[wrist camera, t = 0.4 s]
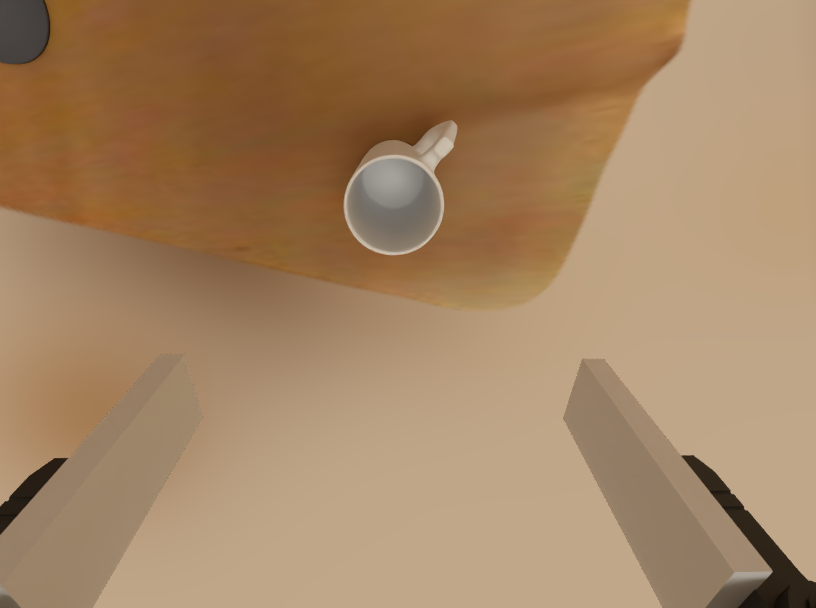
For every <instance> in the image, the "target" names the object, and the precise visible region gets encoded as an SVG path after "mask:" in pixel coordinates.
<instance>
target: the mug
mask: <svg viewBox="0 0 816 608" xmlns="http://www.w3.org/2000/svg"><path fill="white" fill-rule="evenodd" d="M456 134H457V125H456V124H455V122H453V121H451V120H449V121H445V122H443V123H440V124H438V125H436V126H435V127H433V128H431V129H429V130H428V131H427V132H426V133H425V135H424V136H423V137H422V138H421V139H420V140H419V141H418V143H417V144H415V145H414V146H411V145H409V144H407V143H405V142H402V141H398V140H388V141H383V142H381V143H378V144H377V145H375V146H374V147H372V148H371V149H370V150H369V151H368V152H367V154H366V155H365V156H364V158H363V159H362V161H361V163H360V164H359V166H358V167H357V169H356V170H355V172H354V174H353V175H352V177H351V179H350V181H349V183H348V186H347V188H346V192H345V196H344V214H345V218H346V222H347V224H348V227H349V229H350V230H351V232H352V234H353V235H354V236H355V238H356V239H357V240H358V241H359V242H360V243H361V244H363V245H364V246H365V247H367V248H369V249H370V250H373V251H375V252H378V253H381V254H386V255H401V254H406V253H410V252H412V251H415V250H417V249H419V248H420V247H422V246H423V245H425V244H426V243H427V242H428V241H429V240H430V239H431V238H432V237H433V236H434V234H435V233H436V231H437V230H438V228H439V226H440V223H441V221H442V217H443V212H444V197H443V192H442V189H441V186H440V184H439V182H438V180H437V178H436V176H435V175H434V171H435V168H436V166H437V164H438V163H439V162H440V160H441V159H442V158H444V157H445V156H446V155H447V154H448V153H449V152H450V151H451V150H452V149H453V147H454V140H455V137H456Z"/></svg>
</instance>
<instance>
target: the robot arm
mask: <svg viewBox="0 0 816 608" xmlns="http://www.w3.org/2000/svg"><path fill="white" fill-rule="evenodd" d="M202 419H203V415H202V412H201V408H200V405H199V401H198V398H197V394H196V391H195V387H194V384H193V381H192V377H191V374H190V370H189V367H188V364H187V360H186V357H185V355H184V354H160V355H159V356H158V357H157V358H156V360H155V361H154V362H153V363H152V364H151V365H150V366H149V368H148V369H147V370H146V371H145V372H144V373H143V374H142V375H141V377H140V378H139V379H138V380H137V381H136V382H135V383H134V384H133V386H132V387H131V388H130V389H129V390H128V391H127V392H126V394H125V395H124V396H123V397H122V398H121V399H120V400H119V402H118V403H117V404H116V405H115V406H114V407H113V408H112V409H111V410H110V412H109V413H108V414H107V415H106V416H105V418H103V420H102V421H101V422H100V423H99V424H98V425H97V426H96V427H95V429H94V430H93V431H92V432H91V433H90V434H89V435H88V436H87V438H86V439H85V440H84V441H83V442H82V443H81V444H80V446H79V447H78V448H77V449H76V450H75V451H74V452H73V453H72V455H71V456H70V457H69V458H54V459H53V460H51V461H50V462H48V463H47V464H46V465H44V466H43V467H42V468H40V469H39V470H37V471H36V472H34V473H33V474H31V475H30V476H29V477H28V478H27V479H26V480H25V481H24V482H23V483H22V484H21V485H20V486H19V487H18V488H17V490H16V491H15V492H14V493H13V494H12V495H11V496H10V497H9V500H8V501H5V502H4V503H3V504H2V505H1V506H0V608H93V606H94V605H95V603H96V601H97V600H98V598H99V596H100V594H101V593H102V591H103V589H104V587H105V585H106V584H107V582H108V580H109V579H110V577H111V575H112V574H113V572H114V570H115V569H116V567H117V565H118V563H119V562H120V560H121V558H122V556H123V555H124V553H125V551H126V549H127V548H128V546H129V544H130V543H131V541H132V539H133V537H134V536H135V534H136V532H137V531H138V529H139V527H140V525H141V524H142V522H143V520H144V519H145V517H146V515H147V513H148V512H149V510H150V508H151V506H152V505H153V503H154V501H155V499H156V498H157V496H158V494H159V492H160V491H161V489H162V487H163V486H164V484H165V482H166V481H167V479H168V477H169V475H170V474H171V472H172V470H173V468H174V467H175V465H176V463H177V462H178V460H179V458H180V456H181V455H182V453H183V451H184V450H185V448H186V446H187V444H188V443H189V441H190V439H191V437H192V435H193V434H194V432H195V431H196V429H197V427H198V425H199V424H200V422H201V420H202ZM563 419H564V421H565V423H566V425H567V426H568V429H569V430H570V432H571V434H572V436H573V438H574V440H575V442H576V444H577V445H578V447H579V449H580V451H581V453H582V455H583V457H584V459H585V461H586V463H587V465H588V467H589V468H590V470H591V472H592V474H593V476H594V478H595V480H596V482H597V484H598V486H599V487H600V489H601V491H602V493H603V495H604V497H605V499H606V501H607V503H608V505H609V507H610V508H611V510H612V512H613V514H614V516H615V518H616V520H617V522H618V524H619V526H620V527H621V529H622V531H623V533H624V535H625V537H626V539H627V541H628V543H629V545H630V546H631V548H632V550H633V552H634V554H635V556H636V558H637V560H638V562H639V564H640V566H641V567H642V569H643V571H644V573H645V575H646V577H647V579H648V580H649V583H650V584H651V586H652V588H653V590H654V592H655V594H656V596H657V598H658V600H659V602H660V604H661V605H662V607H663V608H816V583H815V582H813V581H808V580H807V579H806V578H805V577H804V576H803V575H802V574H801V573H800V572H799V571H798V569H797V568H796V567H795V566H794V565H793V563H792V562H791V561H790V560H789V559H788V558H787V556H786V555H785V554H784V553H783V552H782V550H781V549H780V548H779V547H778V546H777V545H776V544H775V542H774V541H773V540H772V539H771V538H770V536H769V535H768V534H767V533H766V532H765V531H764V529H763V528H762V527H761V526H760V525H759V523H758V522H757V521H756V520H755V519H754V518H753V516H752V515H751V514H750V513H749V512H748V511H746V510H745V509H744V506H743V505H742V504H741V502H740V501H739V500H738V499H737V498H736V496H735V495H734V494H731V492H730V490H729V488H728V487H727V486H726V485H725V483H724V482H723V481H722V480H721V479H720V478H719V476H718V475H717V474H716V473H715V472H714V471H713V470H712V469H710V468H709V467H708V466H706V465H705V464H704V463H703V462H701V461H700V460H699V459H697V458H696V457H695V456H693V455H691V456H681V455H680V454H679V453H678V451H677V450H676V449H675V448H674V446H673V445H672V444H671V443H670V441H669V440H668V439H667V437H666V436H665V435H664V434H663V432H662V431H661V430H660V429H659V427H658V426H657V425H656V424H655V422H654V421H653V420H652V419H651V418H650V416H649V415H648V414H647V412H646V411H645V410H644V409H643V407H642V406H641V405H640V404H639V402H638V401H637V400H636V399H635V397H634V396H633V395H632V394H631V392H630V391H629V390H628V388H627V387H626V386H625V385H624V383H623V382H622V381H621V380H620V378H619V377H618V376H617V375H616V373H615V372H614V371H613V370H612V368H611V367H610V366H609V365H608V363H607V362H606V361H605V360H604V359H582V361H581V364H580V367H579V371H578V374H577V377H576V380H575V383H574V386H573V389H572V392H571V395H570V398H569V401H568V405H567V408H566V411H565V414H564V417H563Z"/></svg>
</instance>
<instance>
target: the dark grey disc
mask: <svg viewBox="0 0 816 608" xmlns="http://www.w3.org/2000/svg"><path fill="white" fill-rule="evenodd" d="M49 33H50V22H49V15H48V11H47V7H46V4H45V2H44V0H0V62H2V63H8V64H23V63H28V62H30V61H33V60H34V59H36V58H37V57H38V56H40V55H41V54H42V52H43V51H44V49H45V47H46V45H47V43H48V39H49Z"/></svg>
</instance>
